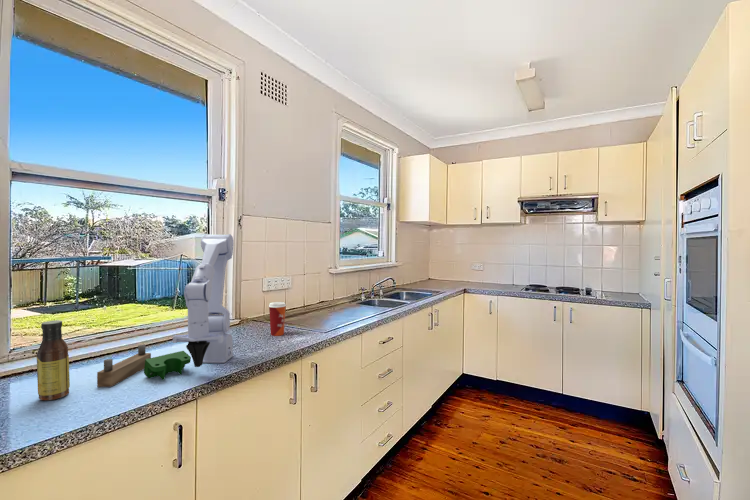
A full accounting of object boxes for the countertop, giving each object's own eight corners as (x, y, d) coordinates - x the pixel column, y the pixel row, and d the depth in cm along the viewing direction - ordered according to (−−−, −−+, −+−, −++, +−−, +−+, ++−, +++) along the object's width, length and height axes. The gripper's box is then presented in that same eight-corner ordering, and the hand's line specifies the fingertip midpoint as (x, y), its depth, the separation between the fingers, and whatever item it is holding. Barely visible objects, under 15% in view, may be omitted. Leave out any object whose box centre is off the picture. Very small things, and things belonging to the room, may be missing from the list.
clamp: (157, 394, 107) (147, 372, 103) (149, 384, 111) (138, 362, 106) (196, 369, 115) (188, 347, 111) (187, 361, 119) (179, 340, 115)
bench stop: (150, 365, 120) (150, 344, 119) (111, 386, 102) (111, 361, 101) (138, 365, 120) (138, 344, 119) (97, 386, 102) (97, 361, 101)
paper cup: (283, 336, 157) (283, 304, 157) (266, 336, 157) (266, 304, 157) (288, 332, 165) (288, 301, 164) (271, 332, 165) (271, 301, 164)
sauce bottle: (51, 392, 97) (50, 318, 97) (75, 391, 98) (75, 318, 98) (30, 403, 91) (29, 324, 91) (56, 402, 91) (55, 324, 91)
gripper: (167, 324, 106) (167, 370, 107) (216, 324, 106) (216, 370, 107) (179, 319, 113) (179, 362, 114) (226, 319, 114) (226, 362, 114)
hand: (198, 365), depth 111 cm, fingers closed
